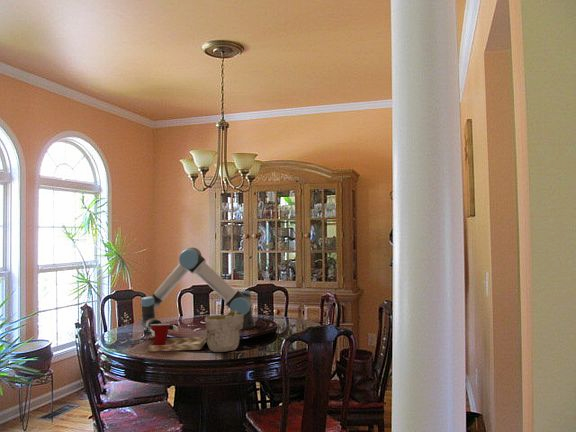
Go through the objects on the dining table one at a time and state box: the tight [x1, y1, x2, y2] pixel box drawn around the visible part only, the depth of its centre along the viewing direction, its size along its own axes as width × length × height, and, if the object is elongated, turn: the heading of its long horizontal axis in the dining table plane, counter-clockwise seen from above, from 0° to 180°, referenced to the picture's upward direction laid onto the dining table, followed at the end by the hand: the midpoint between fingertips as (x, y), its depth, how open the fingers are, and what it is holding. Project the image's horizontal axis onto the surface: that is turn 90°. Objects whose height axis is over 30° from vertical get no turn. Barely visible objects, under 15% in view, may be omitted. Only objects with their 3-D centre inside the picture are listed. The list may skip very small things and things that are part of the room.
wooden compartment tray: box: [147, 336, 207, 352], centre depth 276 cm, size 29×15×3 cm, turn 87°
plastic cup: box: [150, 323, 170, 345], centre depth 277 cm, size 11×11×12 cm
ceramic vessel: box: [204, 310, 244, 353], centre depth 268 cm, size 23×24×25 cm
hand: (166, 331), depth 275 cm, fingers open, 13 cm apart
